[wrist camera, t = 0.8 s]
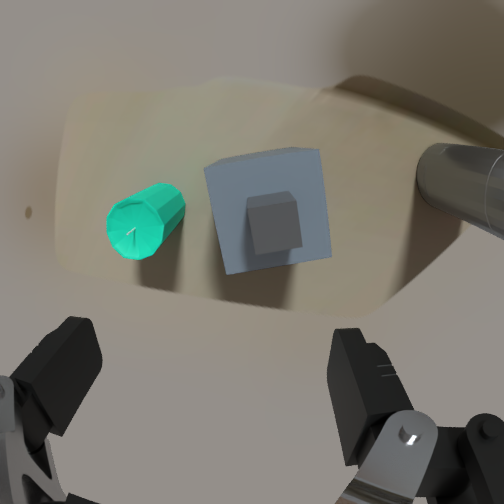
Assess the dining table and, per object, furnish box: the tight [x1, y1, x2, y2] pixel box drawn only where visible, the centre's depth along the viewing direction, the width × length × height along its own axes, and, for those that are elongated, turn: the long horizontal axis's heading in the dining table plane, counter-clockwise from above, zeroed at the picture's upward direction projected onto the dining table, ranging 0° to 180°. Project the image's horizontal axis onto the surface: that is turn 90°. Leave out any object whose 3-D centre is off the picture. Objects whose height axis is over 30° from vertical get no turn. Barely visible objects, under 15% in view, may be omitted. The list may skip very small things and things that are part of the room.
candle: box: [107, 183, 185, 260], centre depth 31 cm, size 6×6×12 cm
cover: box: [204, 147, 332, 275], centre depth 28 cm, size 8×8×18 cm
